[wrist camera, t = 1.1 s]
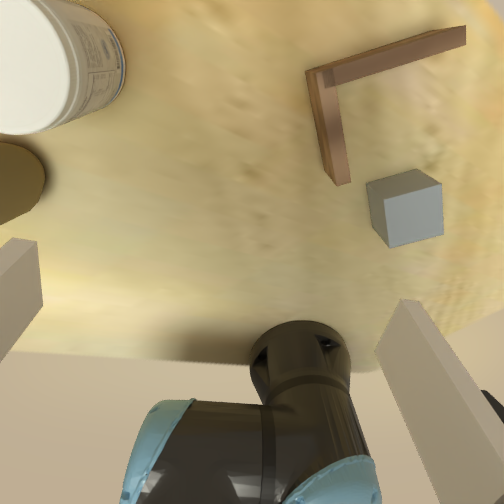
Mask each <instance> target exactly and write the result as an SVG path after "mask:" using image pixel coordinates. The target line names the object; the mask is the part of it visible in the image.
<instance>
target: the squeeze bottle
mask: <svg viewBox="0 0 504 504" xmlns="http://www.w3.org/2000/svg"><path fill="white" fill-rule="evenodd" d="M44 181H45V173H44V169H43V166H42V164H41V163H40V161H39V160H38V158H37V157H36V156H35V155H34V154H32V153H31V152H30V151H29V150H27V149H25V148H22V147H20V146H18V145H13V144H8V143H3V142H0V225H2V224H4V223H6V222H8V221H10V220H12V219H14V218H16V217H18V216H20V215H22V214H24V213H26V212H28V211H30V210H31V209H32V208H33V207H34V206H35V204H36V203H37V202H38V201H39V198H40V195H41V192H42V189H43V186H44Z"/></svg>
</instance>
